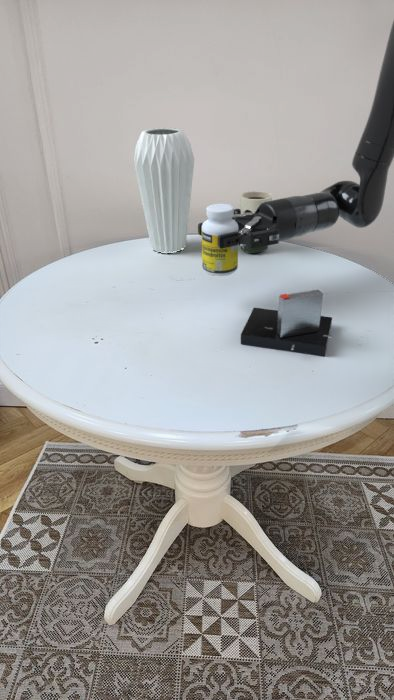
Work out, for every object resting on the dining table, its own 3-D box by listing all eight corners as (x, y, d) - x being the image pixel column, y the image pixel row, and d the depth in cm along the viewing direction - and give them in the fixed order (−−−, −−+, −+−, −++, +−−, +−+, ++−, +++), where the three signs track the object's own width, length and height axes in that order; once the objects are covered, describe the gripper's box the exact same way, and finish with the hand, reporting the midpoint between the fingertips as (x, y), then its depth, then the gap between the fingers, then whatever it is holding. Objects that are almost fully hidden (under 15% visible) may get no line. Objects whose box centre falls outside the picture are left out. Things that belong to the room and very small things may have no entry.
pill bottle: (195, 270, 98) (193, 207, 91) (220, 260, 101) (220, 199, 95) (219, 280, 94) (219, 216, 87) (245, 270, 97) (246, 207, 91)
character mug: (229, 245, 128) (230, 191, 121) (254, 240, 131) (257, 187, 124) (253, 261, 120) (255, 203, 113) (279, 255, 122) (283, 199, 115)
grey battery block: (314, 326, 90) (318, 287, 86) (318, 331, 89) (323, 292, 85) (276, 333, 88) (279, 294, 85) (280, 338, 87) (283, 298, 83)
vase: (129, 250, 127) (118, 133, 113) (167, 234, 135) (161, 123, 121) (170, 263, 119) (163, 139, 105) (207, 246, 128) (206, 129, 114)
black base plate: (334, 327, 94) (336, 316, 93) (326, 365, 84) (328, 354, 83) (253, 316, 98) (253, 306, 97) (236, 352, 88) (236, 340, 86)
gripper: (265, 189, 102) (188, 204, 96) (312, 209, 92) (229, 227, 85) (263, 226, 106) (190, 243, 100) (309, 250, 96) (229, 270, 89)
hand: (208, 236), depth 93 cm, fingers closed on pill bottle, 6 cm apart
